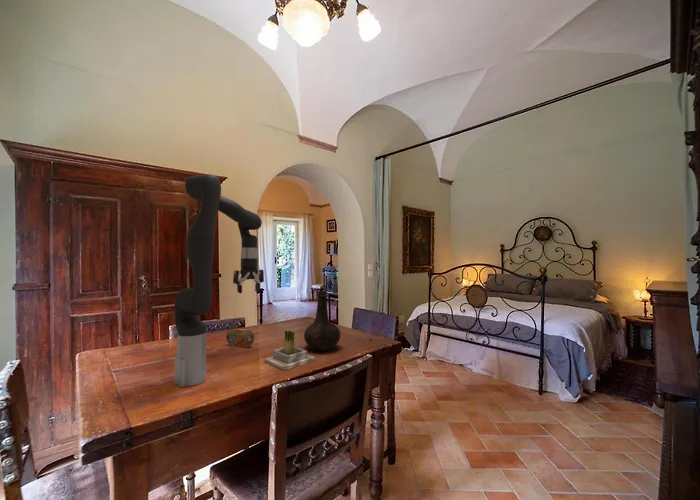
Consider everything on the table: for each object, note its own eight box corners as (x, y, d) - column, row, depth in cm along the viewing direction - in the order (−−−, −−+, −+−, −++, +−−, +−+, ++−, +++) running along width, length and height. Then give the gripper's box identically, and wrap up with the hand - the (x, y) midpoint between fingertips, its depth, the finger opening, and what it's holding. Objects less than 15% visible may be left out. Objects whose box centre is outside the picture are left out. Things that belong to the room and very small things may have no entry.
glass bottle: (323, 356, 138) (324, 294, 138) (296, 349, 148) (296, 291, 149) (347, 347, 152) (348, 291, 152) (321, 341, 163) (321, 288, 163)
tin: (225, 345, 154) (225, 328, 154) (229, 343, 157) (230, 327, 157) (251, 348, 149) (251, 331, 149) (255, 346, 152) (255, 329, 152)
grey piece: (283, 370, 121) (283, 359, 121) (264, 362, 130) (264, 351, 130) (314, 360, 132) (315, 350, 132) (295, 353, 142) (295, 343, 142)
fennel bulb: (282, 356, 133) (283, 328, 133) (294, 355, 135) (294, 327, 135) (285, 360, 128) (285, 331, 128) (297, 359, 130) (297, 330, 130)
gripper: (238, 257, 135) (238, 294, 135) (267, 257, 145) (266, 291, 145) (230, 257, 140) (230, 293, 140) (258, 257, 150) (258, 290, 150)
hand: (248, 292), depth 142 cm, fingers open, 8 cm apart
